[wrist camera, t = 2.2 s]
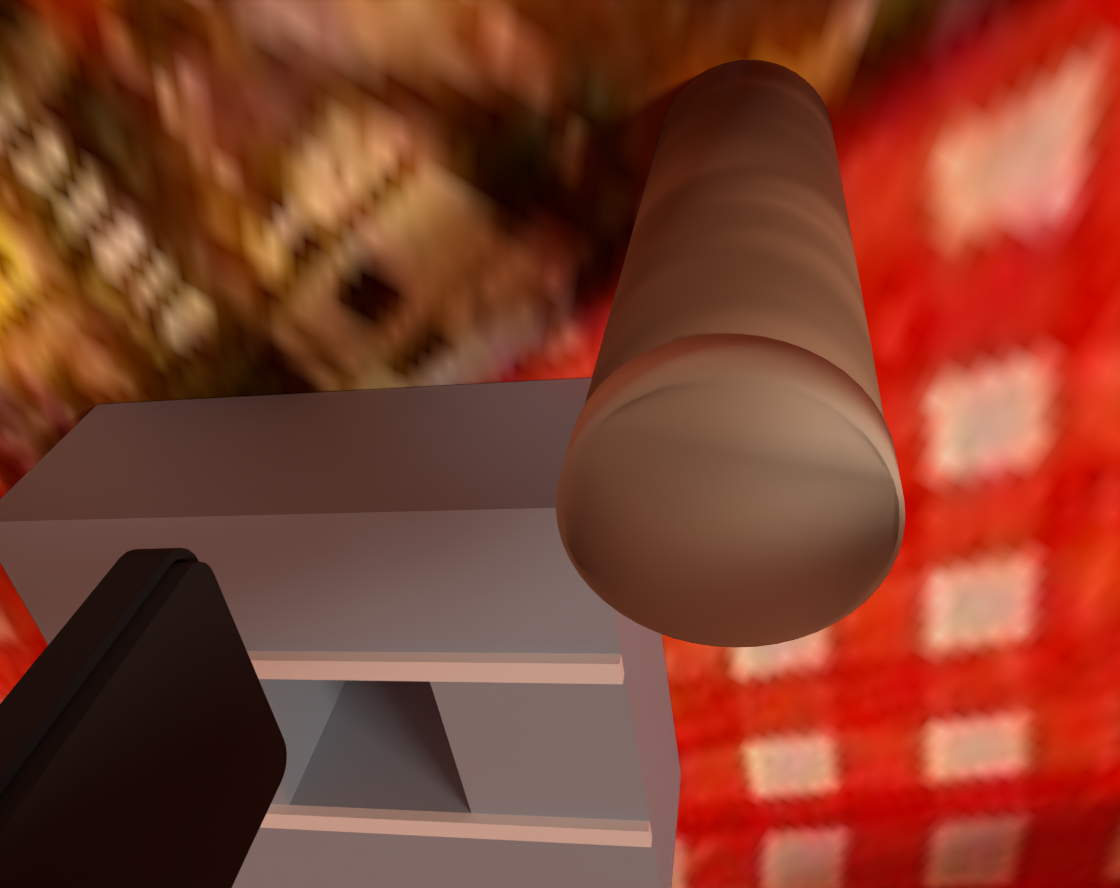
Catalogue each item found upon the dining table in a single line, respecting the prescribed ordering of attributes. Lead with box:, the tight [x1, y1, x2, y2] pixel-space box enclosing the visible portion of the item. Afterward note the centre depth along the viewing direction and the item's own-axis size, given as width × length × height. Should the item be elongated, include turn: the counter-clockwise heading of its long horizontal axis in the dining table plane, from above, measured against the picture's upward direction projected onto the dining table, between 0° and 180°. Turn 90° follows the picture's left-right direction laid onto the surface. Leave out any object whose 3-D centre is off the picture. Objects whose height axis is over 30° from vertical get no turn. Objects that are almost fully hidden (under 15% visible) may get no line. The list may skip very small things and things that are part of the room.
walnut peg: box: [556, 60, 905, 647], centre depth 15 cm, size 4×4×12 cm
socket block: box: [0, 378, 681, 888], centre depth 27 cm, size 14×14×5 cm
